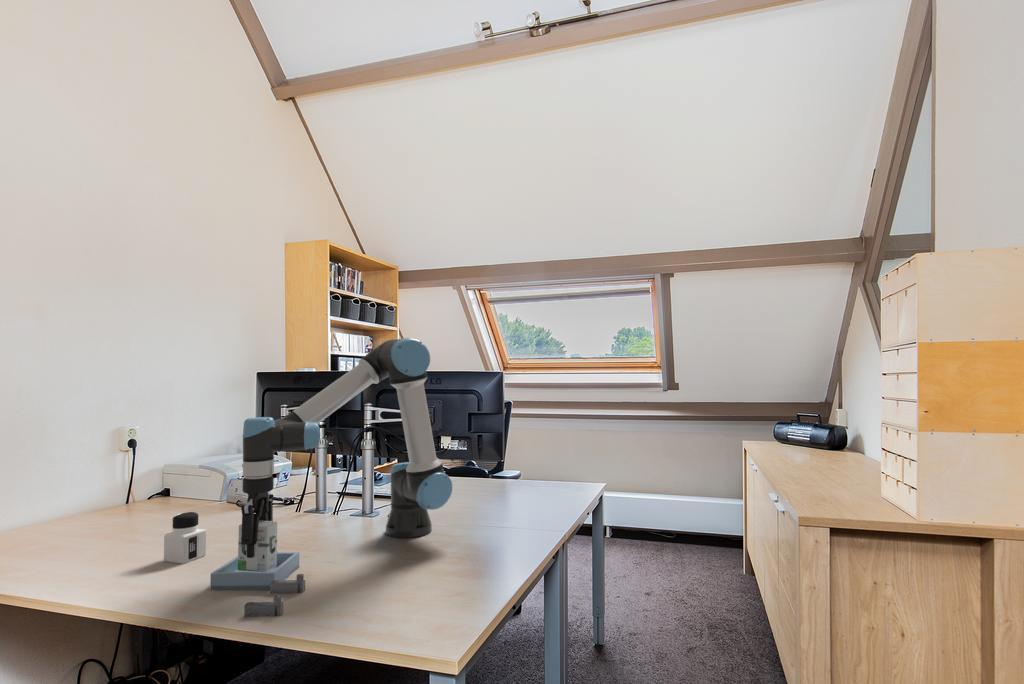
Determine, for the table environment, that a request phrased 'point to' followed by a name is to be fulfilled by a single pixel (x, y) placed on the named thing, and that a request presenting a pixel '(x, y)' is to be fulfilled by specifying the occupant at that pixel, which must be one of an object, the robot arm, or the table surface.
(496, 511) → the table surface
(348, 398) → the robot arm
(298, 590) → the cradle
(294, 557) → the bin
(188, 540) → the container
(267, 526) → the ink box
